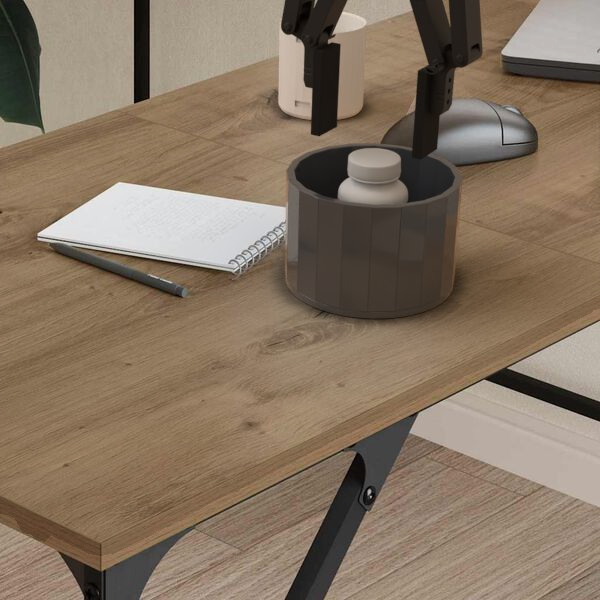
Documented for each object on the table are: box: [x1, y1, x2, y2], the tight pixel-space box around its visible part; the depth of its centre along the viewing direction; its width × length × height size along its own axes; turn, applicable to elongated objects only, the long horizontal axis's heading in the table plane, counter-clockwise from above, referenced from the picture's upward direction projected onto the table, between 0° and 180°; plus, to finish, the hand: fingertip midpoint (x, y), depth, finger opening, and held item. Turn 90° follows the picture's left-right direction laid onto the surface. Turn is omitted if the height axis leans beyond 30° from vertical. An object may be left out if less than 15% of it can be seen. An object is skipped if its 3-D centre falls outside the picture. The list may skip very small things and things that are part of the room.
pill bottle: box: [338, 148, 408, 205], centre depth 102 cm, size 5×5×10 cm
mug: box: [277, 11, 368, 121], centre depth 139 cm, size 12×9×9 cm
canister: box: [284, 142, 464, 320], centre depth 103 cm, size 13×13×9 cm
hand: (373, 141), depth 100 cm, fingers open, 8 cm apart
